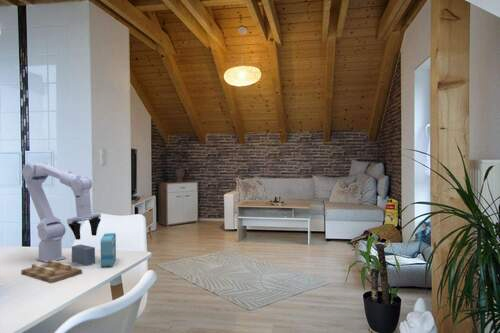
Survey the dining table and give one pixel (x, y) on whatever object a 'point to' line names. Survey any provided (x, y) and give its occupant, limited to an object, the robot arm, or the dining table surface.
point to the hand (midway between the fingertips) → (86, 237)
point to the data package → (108, 249)
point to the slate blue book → (83, 255)
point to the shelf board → (51, 271)
